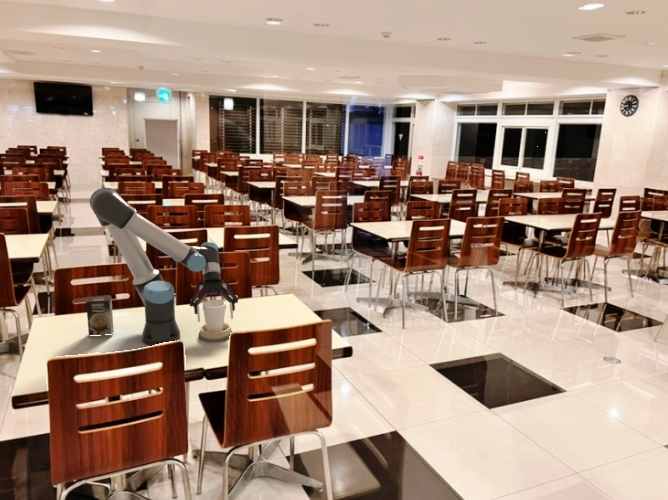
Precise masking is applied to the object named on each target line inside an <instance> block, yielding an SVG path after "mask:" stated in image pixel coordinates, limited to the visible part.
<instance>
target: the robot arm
mask: <svg viewBox="0 0 668 500" xmlns="http://www.w3.org/2000/svg"><path fill="white" fill-rule="evenodd" d="M89 206H90V209H91V210H92V212H93V213H94V215H95V217H96V218H97V220H98V222H99V224H100V226H101V227H103V228H106V229H107V230H108V232H109V234H110V235H111V237H112V240H113V241H114V243H115V245H116V247H117V249H118V250H119V252H120V254H121V257H122V258H123V259H124V261H125V263H126V265H127V267H128V269H129V271H130V273H131V274H132V276H133V280H132V284H133V286H134V288H135V290H136V292H137V294H138V296H139V298H140V299H141V301H142V303H143V305H144V316H145V324H144V327H143V330H142V333H141V339H142V343H143V344H145V345H149V346H153V345H155V344H159V343H163V342H169V341H175V340H178V341H179V340H180V339H181V331H180V328H179V325H178V323H177V321H176V311H175V309H176V308H175V289H174V286H173V285H172V283H171V282H169V281H165V280H164V278H163V276H162V275H161V273H160V270H158V269H156V268H154V267H153V265H152V263H151V261H150V260H149V257H148V256H147V254H146V251H145V250H144V248H143V245H142V244H141V241H140V240H139V239H141V240H142V241H144V242H146V243H147V244H149V245H151V246H152V247H153V248H155V249H157V250H159V251H161V252H162V253H164V254H165V255H167V256H169V257H170V258H172V259H173V261H175V262H177V263H179V264H181V265H183V266H184V267H186V268H188V270H189V271H192V272H193V273H199V272H201V271H202V275H203V276H202V278H203V279H202V280H203V282H202V283H203V284H202V285H201V284H199V283H196V287H195V291H194V293H193V295H192V297H191V299H190V300H189V306H190V307H193V308H194V310H193V311H194V315H197V322H198V323H200V322H201V316H200V315H201V314H200V313H201V312H200V304H201V302H202V301H203V300H204V299H205V298H206V297H207V296H208V295H209V296H212V295H215V296H216V295H220V296H221V298H223V299H224V300H226V301H227V302H228V303H229V313H230V320H233V319H234V312H235V310H236V305H235V304H238V303H239V298H238V296H237V295H236V294H235V292H234V291H233V290H232V288H231V287H230V283H229V282H226V283H222V277H221V276H222V275H221V267H220V256H219V249H218V244H217V243H215V242H213V241H208V242H207V241H206V242H203V243H202V244H201V245H200V246H195V245H187V244H185V243H184V242H183V241H181V240H179V239H178V238H176V237H175V236H173V235H172V234H170V233H169V232H167V231H165V230H164V229H162V228H161V227H159V226H158V225H156V224H155V223H153V222H151V221H150V220H148V219H146V218H145V217H143V215H141V214H140V213H138V212H137V210H136V208H135V207H133V206H131V205H130V204H129V203H128V202H126V201H125V199H123V197H122V196H121V195H120V193H118V191H116V190H115V189H114V188H110V187H101V188H98V189H96V190H95V191H94V192H93V193H92V194H91V196H90V198H89ZM223 288H224V289H225V290H226V292H227V293H228V294H229V295H228V294H227V293H226V292H225V291H224V290H223ZM201 290H204V291H203V292H202V294H201V295H200V296H199V297H198V295H199V293H200V291H201ZM197 297H198V298H197ZM196 299H197V300H196Z"/></svg>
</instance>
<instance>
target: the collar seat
mask: <svg viewBox="0 0 668 500" xmlns="http://www.w3.org/2000/svg"><path fill="white" fill-rule="evenodd" d="M231 332H232V333H233V329H232V326H231V324H229V323H227V322H225V321H224V325H223V331H221V332H207V328H206V323H204V324H202V325H201V326H200V327H199V332H198V338H199V340H201V341H204V342H207V343H218V342H224V341H226V340H229V339H230V338H229V336H230V333H231Z"/></svg>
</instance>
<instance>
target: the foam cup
mask: <svg viewBox="0 0 668 500" xmlns="http://www.w3.org/2000/svg"><path fill="white" fill-rule="evenodd" d="M226 308H227V303H226V301H224V300H221V299H220V300H217V299H213V300H212V299H211V300H207V301H204V302H203V303H202V311H203V315H204V322H205V324H206V328H207V332H221V331H223V325H224V322H225V315H226V314H225V313H226V310H227V309H226Z"/></svg>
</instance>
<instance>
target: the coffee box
mask: <svg viewBox="0 0 668 500" xmlns="http://www.w3.org/2000/svg"><path fill="white" fill-rule="evenodd" d="M112 302H113V299H112V296H111V295H110V296H95V297H94V296H93V297H92V296H91V297H88V298H87V300H86V301H85V304H86V316H87V318H86V319H87V328H88V339H97V338H98V339H99V338H112V337H113V335H114V333H115V330H113V329H114V317H113V304H112ZM112 332H113V333H112ZM105 334H112V335H105ZM89 335H101V336H89Z"/></svg>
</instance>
